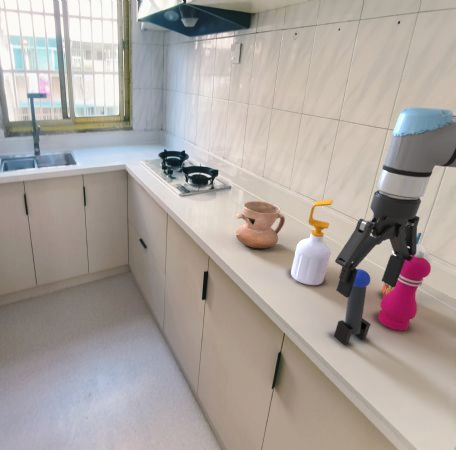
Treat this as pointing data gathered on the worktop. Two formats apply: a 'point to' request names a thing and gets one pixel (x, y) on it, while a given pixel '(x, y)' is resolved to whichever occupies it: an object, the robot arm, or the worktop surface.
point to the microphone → (357, 301)
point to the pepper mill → (404, 294)
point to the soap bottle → (312, 253)
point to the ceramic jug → (259, 224)
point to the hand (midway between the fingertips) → (366, 288)
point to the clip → (350, 331)
